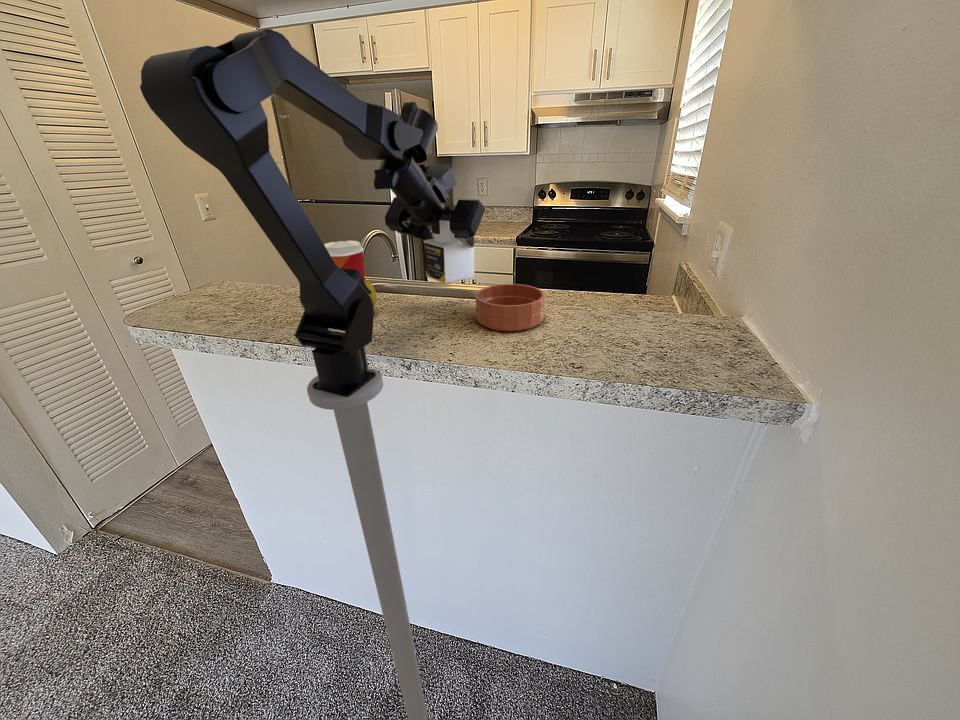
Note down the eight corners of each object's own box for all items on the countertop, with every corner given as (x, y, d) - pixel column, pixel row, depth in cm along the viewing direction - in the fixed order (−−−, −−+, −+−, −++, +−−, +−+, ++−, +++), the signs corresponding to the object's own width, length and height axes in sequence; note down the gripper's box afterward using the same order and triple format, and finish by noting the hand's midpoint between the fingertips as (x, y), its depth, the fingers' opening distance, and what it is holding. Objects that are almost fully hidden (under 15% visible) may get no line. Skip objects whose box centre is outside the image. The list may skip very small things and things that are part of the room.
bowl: (531, 337, 69) (532, 309, 67) (465, 327, 74) (464, 301, 72) (550, 312, 79) (552, 287, 77) (492, 304, 84) (491, 281, 82)
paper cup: (334, 311, 83) (319, 242, 76) (372, 306, 85) (361, 238, 78) (334, 325, 76) (317, 250, 70) (375, 319, 78) (363, 246, 72)
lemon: (375, 320, 78) (368, 280, 75) (346, 320, 79) (339, 280, 75) (381, 310, 83) (376, 272, 80) (355, 310, 83) (348, 272, 80)
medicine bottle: (425, 276, 81) (420, 213, 75) (454, 270, 85) (452, 210, 79) (444, 284, 76) (441, 217, 70) (475, 277, 80) (474, 213, 74)
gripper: (477, 144, 62) (509, 211, 76) (386, 148, 71) (429, 207, 84) (452, 204, 60) (489, 262, 73) (361, 200, 69) (409, 252, 82)
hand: (453, 243), depth 78 cm, fingers closed on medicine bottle, 9 cm apart
